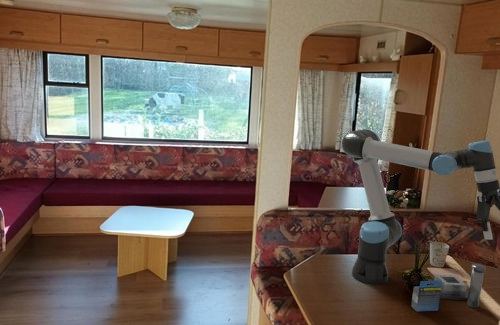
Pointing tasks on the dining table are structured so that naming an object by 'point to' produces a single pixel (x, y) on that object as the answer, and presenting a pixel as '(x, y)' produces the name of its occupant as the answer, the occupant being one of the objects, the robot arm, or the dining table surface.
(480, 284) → the key peg
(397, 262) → the dining table surface
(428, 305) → the label tape cartridge
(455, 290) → the chuck block
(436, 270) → the rubber mat
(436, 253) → the mug
